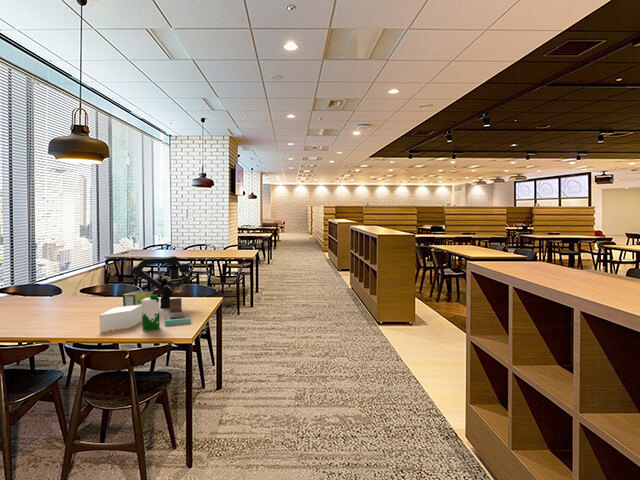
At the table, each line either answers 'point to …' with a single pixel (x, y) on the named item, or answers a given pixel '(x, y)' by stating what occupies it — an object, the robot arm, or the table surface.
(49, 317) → the table surface
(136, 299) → the protein box
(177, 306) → the wooden drawer
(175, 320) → the bay
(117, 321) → the white block
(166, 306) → the robot arm
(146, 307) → the milk carton
